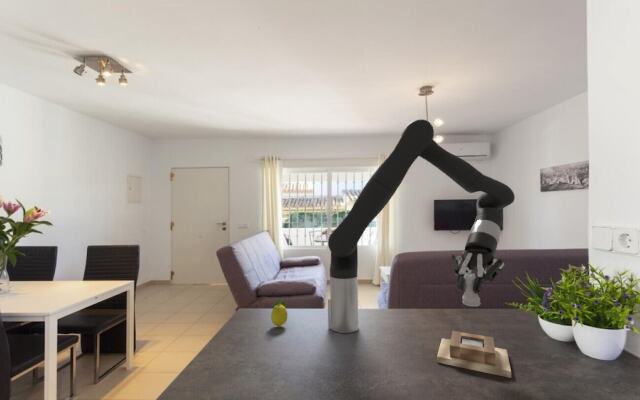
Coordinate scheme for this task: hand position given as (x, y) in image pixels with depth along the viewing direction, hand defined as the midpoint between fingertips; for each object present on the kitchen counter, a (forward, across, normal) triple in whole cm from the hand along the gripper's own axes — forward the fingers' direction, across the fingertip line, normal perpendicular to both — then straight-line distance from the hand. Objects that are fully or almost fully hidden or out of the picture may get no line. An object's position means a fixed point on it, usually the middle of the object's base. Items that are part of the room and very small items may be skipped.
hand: (467, 290), depth 77 cm
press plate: (+9, 0, +12) cm, 15 cm away
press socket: (+12, 0, +14) cm, 18 cm away
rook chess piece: (+2, 0, +4) cm, 5 cm away
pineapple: (+29, -53, -4) cm, 60 cm away
